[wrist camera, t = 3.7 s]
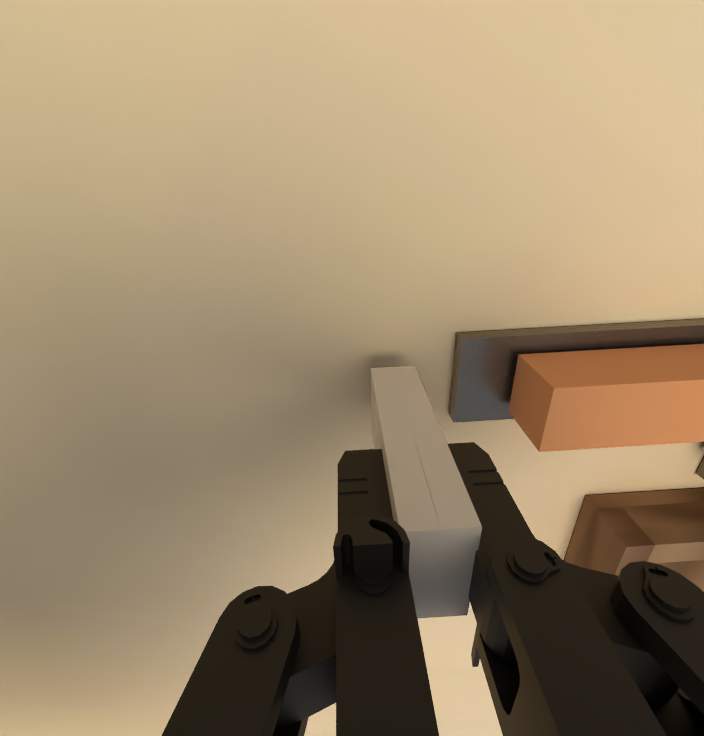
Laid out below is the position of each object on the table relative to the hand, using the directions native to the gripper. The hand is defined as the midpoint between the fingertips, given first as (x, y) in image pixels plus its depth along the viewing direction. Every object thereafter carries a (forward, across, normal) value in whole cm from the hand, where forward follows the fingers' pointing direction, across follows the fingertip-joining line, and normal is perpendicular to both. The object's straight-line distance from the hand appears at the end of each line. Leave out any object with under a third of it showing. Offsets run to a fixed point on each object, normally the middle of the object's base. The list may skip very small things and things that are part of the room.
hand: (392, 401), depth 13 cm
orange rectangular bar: (+2, +9, 0) cm, 9 cm away
